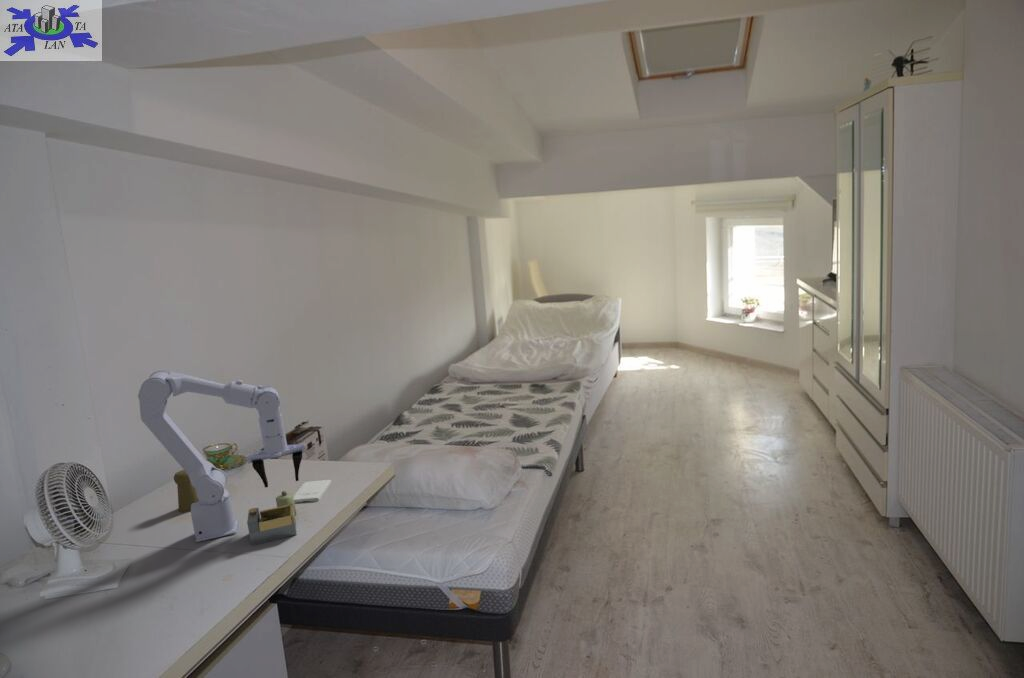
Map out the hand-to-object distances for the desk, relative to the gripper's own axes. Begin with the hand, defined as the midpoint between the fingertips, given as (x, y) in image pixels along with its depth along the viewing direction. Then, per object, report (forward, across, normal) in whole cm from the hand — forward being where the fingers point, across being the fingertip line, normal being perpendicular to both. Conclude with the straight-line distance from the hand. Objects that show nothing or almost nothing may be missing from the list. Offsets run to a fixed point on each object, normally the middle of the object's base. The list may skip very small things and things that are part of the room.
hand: (282, 482), depth 172 cm
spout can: (+9, 0, 0) cm, 9 cm away
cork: (+10, -26, +22) cm, 36 cm away
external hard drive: (+10, +6, +13) cm, 18 cm away
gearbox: (+9, -3, -9) cm, 13 cm away
